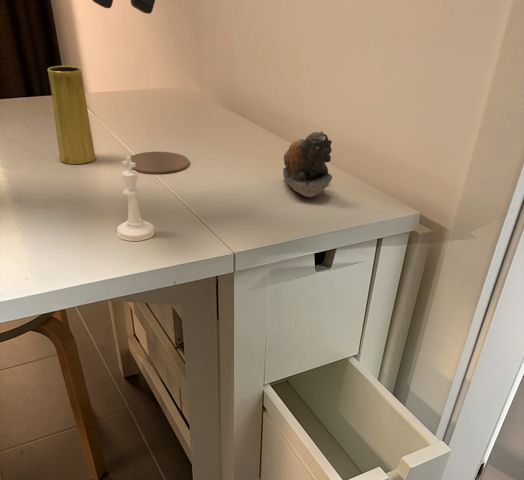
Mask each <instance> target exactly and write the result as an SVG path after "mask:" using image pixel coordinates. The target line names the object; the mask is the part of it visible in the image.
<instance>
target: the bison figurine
mask: <svg viewBox="0 0 524 480" xmlns="http://www.w3.org/2000/svg"><path fill="white" fill-rule="evenodd" d="M332 143H333V141H332V140H331V139H329V136H328V135H327V134H326V133H324V132H323V131H322V130H321V131H314V132H312V133H310V134H309V135H308V136H306V137H305V139H301V138H300V139H297V140H295V141H292V143H291V144H290V145H289V147H288V149H287V150H286V151H285V153H284V155H283V163H284V167H283V168H282V173H283V176H282V177H283V180H284V181H285V182H286V184H287V185H288V186H289V187H290V188H291V189H292V190H293V191H295V192H296V193H298V194H300V195H301V196H303V197H306V198H312V197H316V196H317V195H320V194H321V193H322V192H323V191H324V190H325V189H326V188H328V187H329V185H330V183H331V181H332V179H333V175H332V174H330V173H329V169H328V166H327V164H326V163H331V158H332V157H331V155H330V154H331V153H332V151H333V150H332Z"/></svg>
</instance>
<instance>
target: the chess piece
mask: <svg viewBox="0 0 524 480" xmlns="http://www.w3.org/2000/svg"><path fill="white" fill-rule="evenodd" d="M122 166H125V167H126V166H127V167H126V170H123V171H121V177H122V179H123V181H124V183H125V186H126V188H125V189H124V190H123V192H122V193H123V195H124V196H127V197H128V199H127V200H128V201H127V202H128V206H127V208H128V210H127V211H128V212H127V219H126V220H125V222H122V223H120V224H119V225H118V226H117V228H116V235H117V237H118V238H120V239H121V240H123V241H127V242H128V241H129V242H138V241H140V242H141V241H145V240H148V239H151V238H152V237H154V235H155V233H156V231H155V227H154V225H153V224H152V223H150V222H148V221H146V220H144V219H143V218H142V217H141V213H140V208H139V204H138V199H137V196H139V195H140V194H141V190H140V189H139V188H137V187H136V186H137V183H138V178H139V172H137V171H134V170H132V167H133V168H134V167H136V164H135V163H133V162H131V157H130V156H129V155H127V156H126V157H125V160H122Z"/></svg>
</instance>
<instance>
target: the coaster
mask: <svg viewBox="0 0 524 480" xmlns="http://www.w3.org/2000/svg"><path fill="white" fill-rule="evenodd" d="M129 157H131V162H133V163H135V164H136V167H134V168H133V167H132V170H134V171H137V172H138V173H140V174H146V175H147V174H148V175H166V174H174V173H178V172H180V171H183V170H185V169H187V168H188V167H189V166H190V158H188V157H187V156H185V155H183V154H180V153H176V152H170V151H146V152H145V151H144V152H140V153H136V154H133V155H130V156H129ZM125 167H126V168H127V166H125Z"/></svg>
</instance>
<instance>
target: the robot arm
mask: <svg viewBox="0 0 524 480" xmlns="http://www.w3.org/2000/svg"><path fill="white" fill-rule="evenodd" d="M91 2H93V3H95V4H97V5H98V6H100V7H102V8H104V9H111V8H112V6H113V2H114V0H91ZM155 3H156V0H130V5H131V6H132V7H133V8H135V9H136V10H138V11H139V12H141V13H143V14H147V15H150V14H152V12H153V9H154V6H155Z"/></svg>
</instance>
